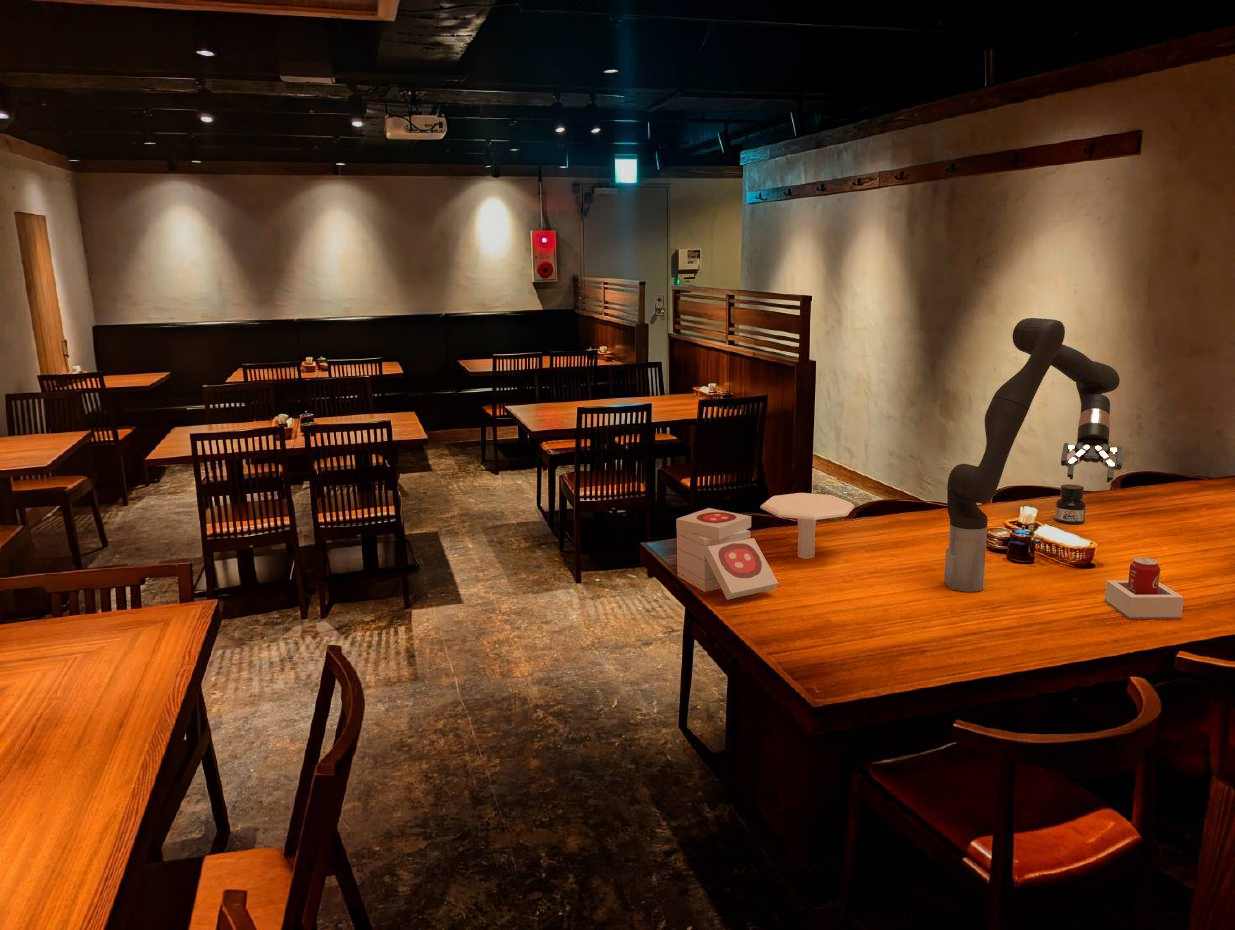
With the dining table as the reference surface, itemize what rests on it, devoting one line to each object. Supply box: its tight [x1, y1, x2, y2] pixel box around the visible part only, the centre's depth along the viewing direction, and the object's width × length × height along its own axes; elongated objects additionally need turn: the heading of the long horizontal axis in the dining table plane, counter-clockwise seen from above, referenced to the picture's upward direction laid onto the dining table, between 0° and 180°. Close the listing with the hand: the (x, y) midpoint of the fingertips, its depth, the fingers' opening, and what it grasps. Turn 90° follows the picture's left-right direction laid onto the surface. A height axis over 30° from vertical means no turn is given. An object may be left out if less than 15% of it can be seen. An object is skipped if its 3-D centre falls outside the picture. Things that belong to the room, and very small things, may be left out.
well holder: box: [1104, 579, 1185, 620], centre depth 208 cm, size 12×12×6 cm
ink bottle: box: [1054, 483, 1087, 525], centre depth 283 cm, size 10×9×12 cm
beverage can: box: [1128, 557, 1161, 595], centre depth 208 cm, size 6×6×12 cm
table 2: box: [760, 492, 855, 560], centre depth 255 cm, size 28×28×17 cm
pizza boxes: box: [675, 507, 779, 601], centre depth 233 cm, size 19×30×18 cm, turn 26°
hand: (1089, 479), depth 222 cm, fingers open, 8 cm apart
